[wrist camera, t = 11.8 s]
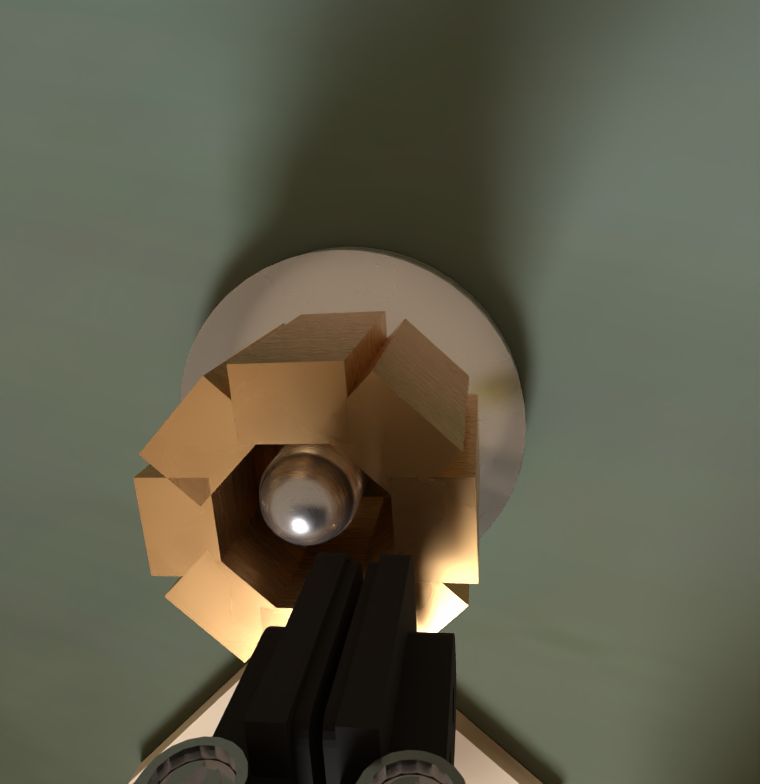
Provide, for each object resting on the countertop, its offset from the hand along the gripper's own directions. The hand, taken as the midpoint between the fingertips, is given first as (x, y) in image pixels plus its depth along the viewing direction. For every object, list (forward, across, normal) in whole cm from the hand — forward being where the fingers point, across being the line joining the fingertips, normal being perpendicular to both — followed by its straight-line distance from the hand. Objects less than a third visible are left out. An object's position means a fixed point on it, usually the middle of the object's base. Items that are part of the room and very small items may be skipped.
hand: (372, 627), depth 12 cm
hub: (+7, +2, -2) cm, 7 cm away
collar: (+6, +1, -1) cm, 6 cm away
